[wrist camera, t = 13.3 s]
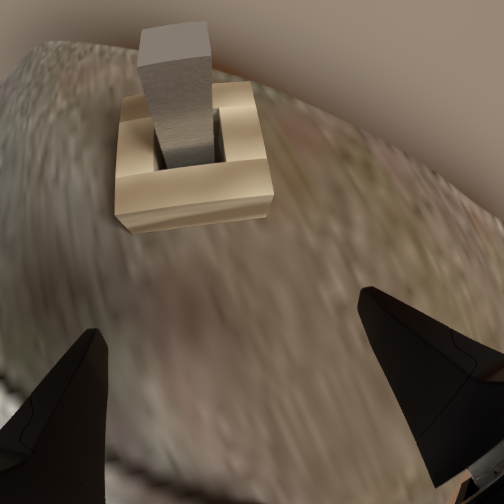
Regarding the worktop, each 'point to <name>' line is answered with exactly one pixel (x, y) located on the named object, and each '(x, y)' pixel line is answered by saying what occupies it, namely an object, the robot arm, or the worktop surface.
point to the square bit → (179, 91)
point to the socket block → (192, 168)
